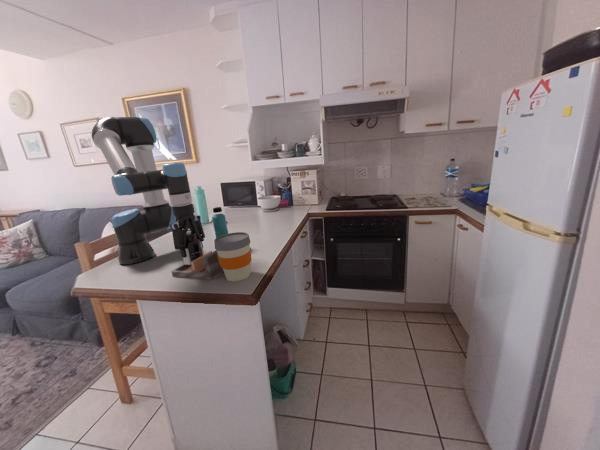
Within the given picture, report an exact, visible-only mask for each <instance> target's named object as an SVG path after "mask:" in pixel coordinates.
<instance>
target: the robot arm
mask: <svg viewBox="0 0 600 450" xmlns="http://www.w3.org/2000/svg"><path fill="white" fill-rule="evenodd" d="M154 127H155V126H154V125H153V123H152V122H151V121H150V120H149V119H148V118H146V117H143V116H142V117H139V116H107V117H105V118H102V119H100V120H98V121H97V122H96V123H95V124H94V126H93V127H92V130H91V138H92V142H93V143H94V146H96V147H97V148H98V149H100V151H101V153H102V154H103V156H104V159H106V160H105V161H106V162H107V164H108V165H109V167H110V169H111V172H112V173H113V174H114V175H111V184H112V187H113V189H114V193H115V194H116V195H117V196H119V197H121V196H132V195H138V194H142V196H143V200H144V204H143V205H142V209H143V210H140V209H138V208H133V209H127V210H124V211H121V212H118V213H115V214H114V215H113V216H112V217H111V219H110V220H111V224H112V228H113V230H114V234H115V238H116V240H117V244H118V245H117V246H118V257H117V259H118V262H119V263H120V264H119V265H121V264H130V265H133V264H132V263H135V264H138V263H137V262H139V263H142V262H141V261H143V262H145V261H148V260H150V259H152V258H153V257H155V256H156V252H155V250H154V248H153V247H152V245H151V244H150V243H149V241H148V238H147V235H150V234H153V233H158V232H163V231H168V230H171V232H172V240H173V245H174V250H176V251H177V250H179V251H180V255H181V258H182V259H183V264H185V265H191V260H190V255H189V251H188V248H186V237H187V232H196V236H197V237H196V238H198V239H199V240H200V243H201V248H202V253H203V255H204V254H205V253H204V244H203V242H204V241H205V239H206V234H205V231H204V227H203V224H202V221H201V220H202V219H201V215H198V214H197V215H195V214H194V213H196V212H195V206H194V204H193V198H192V197H193V196H192V193H191V192H192V191H191V188H190V182H189V178H188V172H187V170H186V165H185V164H184V163H183V162H173V163H164V164H163V165H162V169H158V168H157V165H156V160H155V158H154V153H153V150H154V148H155V144H156V143H157V140H158V138H157V134H156V133H157V132H156V130H155V128H154ZM123 145H125V148H126V149H125V148H124V147H123ZM126 150H127V151H129V152H130V153H131V155H132V159H131V158H130V157H129V155H128V153H127V152H126ZM132 160H133V161H132ZM133 162H134V163H133ZM157 169H158V170H157ZM163 190H167V192H168V195H169V201H170V202H169V201H168V200H166V199H165V197H164V193H163ZM189 230H190V231H189ZM151 257H152V258H151ZM149 258H150V259H149ZM147 259H148V260H147ZM144 260H145V261H144Z"/></svg>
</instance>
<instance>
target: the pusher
mask: <svg viewBox="0 0 600 450" xmlns="http://www.w3.org/2000/svg"><path fill="white" fill-rule="evenodd" d="M212 252H213V251H212V250H210V251H208V252H206V253H204V255H202V256H201V257H199V258H197V259H195V260H194V261H192V262H191V265H192V269H193V272H200V271H202V270H203V269H205V266H204V261H203V258H204V257H205V256H207V255H209V254H210V253H212Z"/></svg>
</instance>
